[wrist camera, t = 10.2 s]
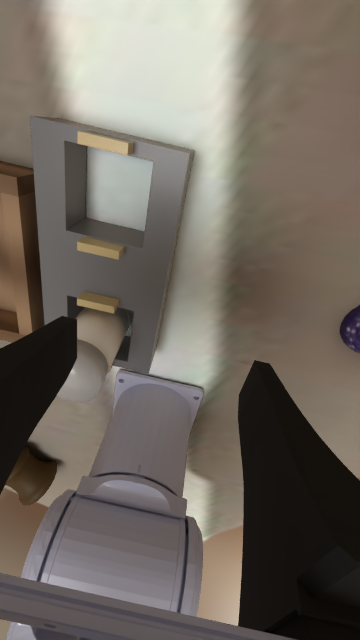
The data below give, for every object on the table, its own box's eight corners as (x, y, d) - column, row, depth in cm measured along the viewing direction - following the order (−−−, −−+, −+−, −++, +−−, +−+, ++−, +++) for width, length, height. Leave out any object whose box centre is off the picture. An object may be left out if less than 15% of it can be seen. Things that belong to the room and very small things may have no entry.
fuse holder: (155, 349, 25) (145, 382, 22) (64, 328, 25) (39, 358, 22) (194, 150, 17) (188, 154, 14) (58, 118, 17) (17, 114, 14)
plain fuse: (132, 332, 24) (98, 407, 18) (89, 322, 24) (40, 394, 18) (136, 294, 22) (101, 363, 16) (90, 284, 22) (35, 348, 16)
